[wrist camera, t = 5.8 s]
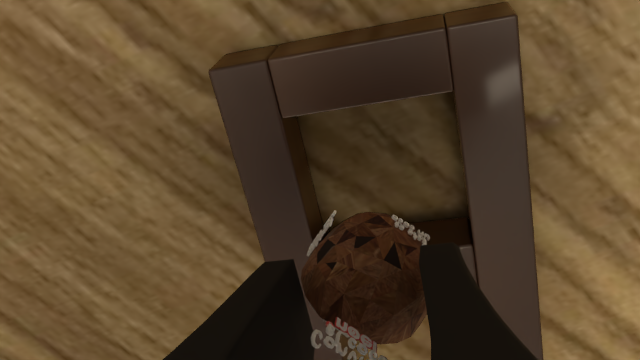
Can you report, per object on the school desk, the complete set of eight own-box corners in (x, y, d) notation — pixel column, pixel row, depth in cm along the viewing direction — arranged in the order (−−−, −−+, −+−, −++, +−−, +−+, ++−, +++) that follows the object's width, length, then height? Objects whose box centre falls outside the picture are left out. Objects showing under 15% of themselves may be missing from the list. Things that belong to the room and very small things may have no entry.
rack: (355, 516, 25) (352, 555, 23) (224, 53, 17) (206, 70, 15) (549, 515, 23) (558, 557, 22) (508, 1, 15) (517, 13, 14)
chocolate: (468, 236, 13) (489, 363, 10) (408, 299, 14) (408, 436, 11) (357, 163, 13) (338, 270, 9) (304, 234, 14) (267, 355, 10)
